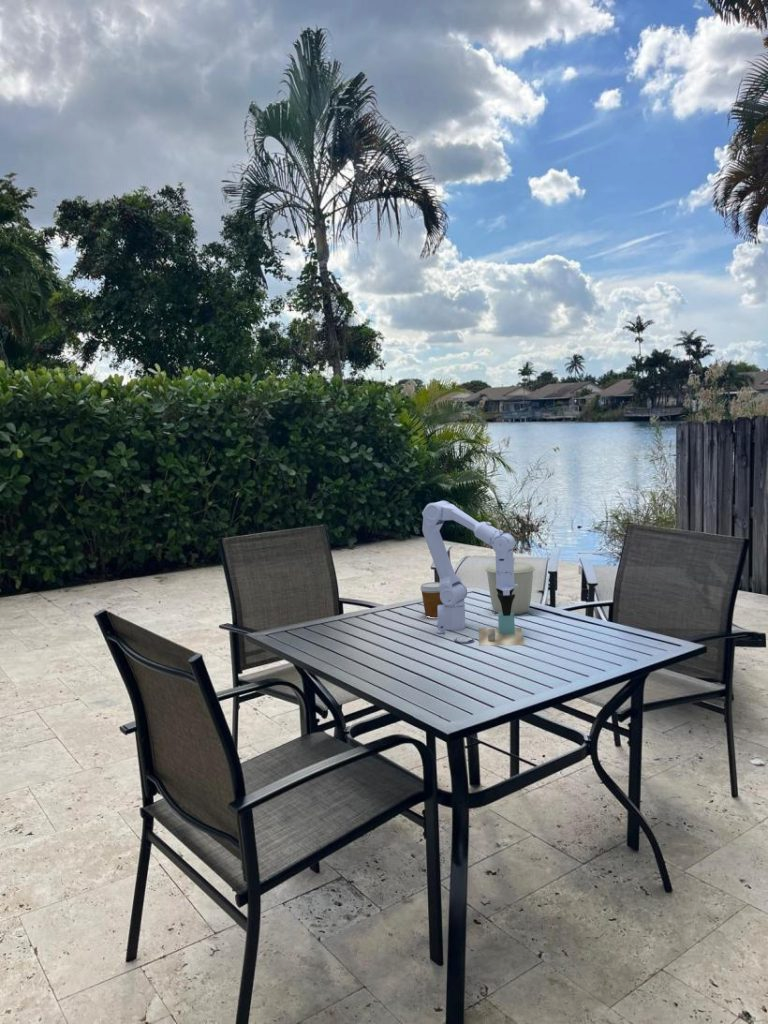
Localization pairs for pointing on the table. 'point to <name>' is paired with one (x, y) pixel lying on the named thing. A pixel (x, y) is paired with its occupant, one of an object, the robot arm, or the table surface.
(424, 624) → the table surface
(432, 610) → the disposable coffee cup
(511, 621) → the housing
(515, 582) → the canister
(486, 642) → the base board
